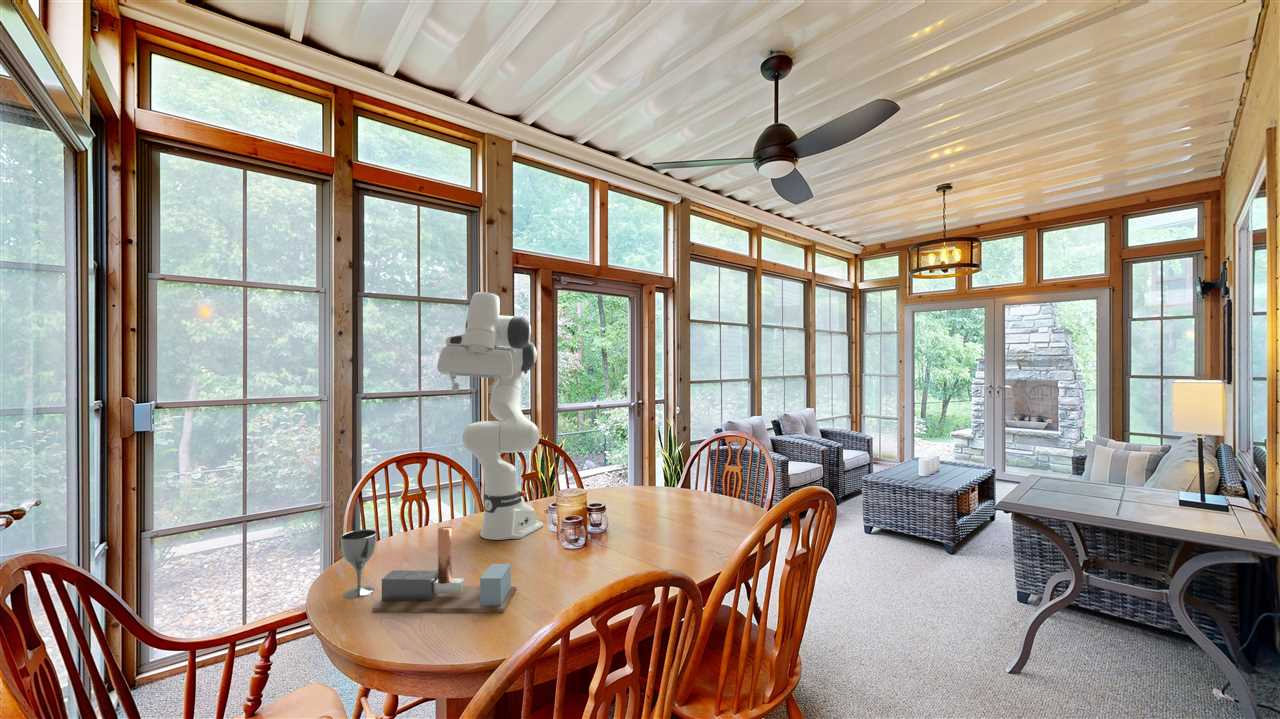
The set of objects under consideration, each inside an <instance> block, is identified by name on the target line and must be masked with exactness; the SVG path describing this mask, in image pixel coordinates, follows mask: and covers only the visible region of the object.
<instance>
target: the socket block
mask: <svg viewBox="0 0 1280 719" xmlns="http://www.w3.org/2000/svg"><path fill="white" fill-rule="evenodd" d="M511 570H512V568H511V563H491V564H490V565H489V566H488V568H486V570H485V571H484V573H483V574H482V575H481V577H480V578H479V581H480V582H479V586H480V605H501V604H502V603H503V601H504V599H505V598H506V596H507V594H508V593H509V591H510V589H511V587H512V585H511V581H512V580H511V579H512V578H511V575H512V574H511Z"/></svg>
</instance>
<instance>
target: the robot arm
mask: <svg viewBox="0 0 1280 719" xmlns="http://www.w3.org/2000/svg"><path fill="white" fill-rule="evenodd" d="M500 305H501V304H500V297H499V295H497V294H496V293H494V292H493V293H491V292H486V291H479V292H478V291H477V292H475V293H473V294H472V297H471V300H470V303H469V306H468V310H467V316H466V322H465V328H464V329H465V331H464V333H461V334H457V335H452V336H448V337H446V338H445V345H446V346H444V347H443V348H442V349H441V350H440V354H439V356H438V362H437V364H436V365H437V372H438V373H440V374H441V375H442V376H443V375H445V376H446V375H447V376H449V379H450V380H451V383H452V387H451V390H452V391H453V392H456V391H457V392H458V391H459V389H460V383H458V382H456V381H455V380H456V379H457V376H460V377H472V378H473V377H474V378H485V379H486V378H488V379H493V383H492V384H491V385H487V388H488V389H487V393H488V394H490V401H489V411H490V414H491V415H492V416H493V417H494V418H495V419H497V420H482V421H477V422H471V423H469V424H468V425H467V426H466V427H465V428H464V430H463V433H462V442H463V445H464V448H465V449H466V450H467V451H468V452H470V453H471V454H473V456H475V457H476V459H477V460H478V462H479V463H480V465H481V467H482V471H483V478H484V493H483V507H484V510H483V519H482V524H481V529H480V533H479V535H480V537H481V538H483V539H485V540H486V539H487V540H493V541H495V540H496V541H497V540H498V541H499V540H501V541H502V540H510V539H515V540H516V539H517V540H518V539H522V538H524V537H526V536H528V535H529V534H531V533H533V532H536V531H537V530H539V529H541V528H542V527H544V523H543V522H542V521H540V520H538V519H537V513H536V511H535V508H534V507H532V506H530V505H529V504H527V503H526V502H524V501H523V499H522V497H523V498H526V497H527V496H528V492H527V491H526V490H525V491H524V490H521V491H519V488H518V487H519V483H518V482H519V480H518V479H519V473H518V472H519V471H518V469H517V467H516V466H515V465H513V464H512V463H510V462H508V461H506V460H504V459H503V458H502V457H501V455H500V454H501V453H503V454H504V453H505V454H506V453H508V454H509V453H522V452H523V453H524V452H527V451H532V450H534V449H535V448H536V447H537V446H538V443H539V441H540V430H539V428H538V426H537V425H536V424H535V423H534V422H533V421H531V420H529V419H528V418H527V417H526V416H525V414H524V413H523V411H522V399H523V398H522V396H523V382H522V373H524V375H527V373H528V371H530V370H532V369H533V368H534V366H535V364H536V362H537V359H538V351H537V349H536V348H537V347H536V346H535V344H534V342H531V341H530V340H531V336H532V327H531V323H530V321H529V320H528V318H526V317H525V316H524V315H523V316H522V315H518V316H517V315H515V316H513V315H512V316H511V315H500V312H501V309H500V307H501V306H500Z"/></svg>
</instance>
